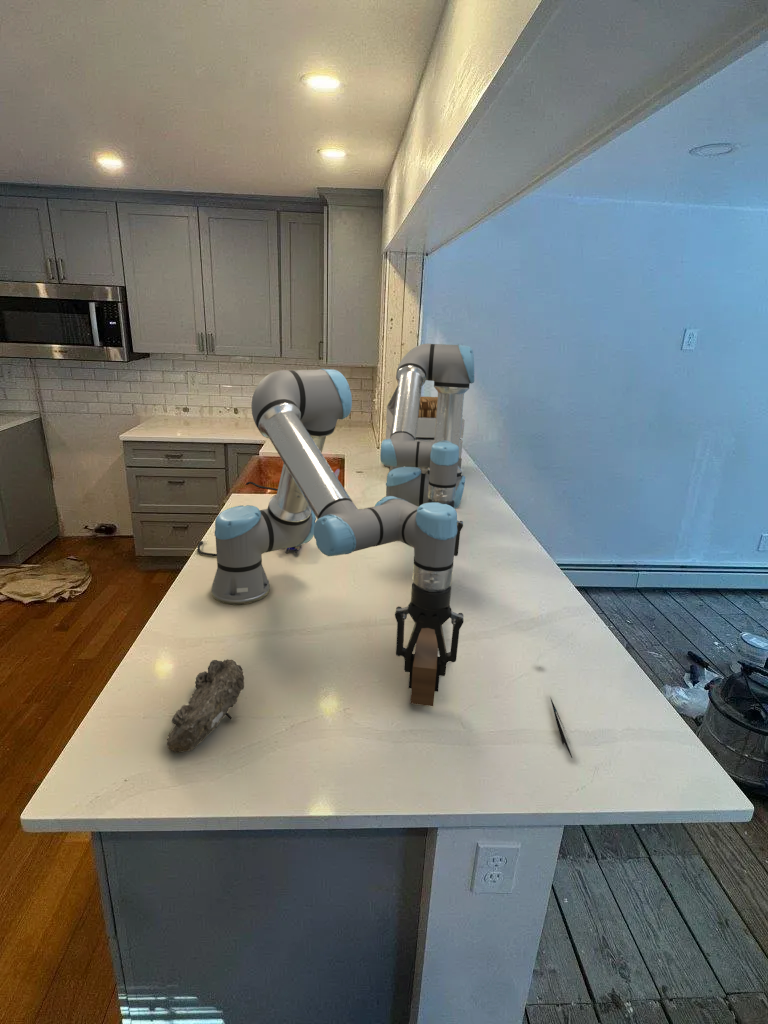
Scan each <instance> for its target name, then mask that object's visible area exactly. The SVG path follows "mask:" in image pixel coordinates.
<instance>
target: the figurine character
mask: <svg viewBox="0 0 768 1024" xmlns="http://www.w3.org/2000/svg"><path fill="white" fill-rule="evenodd" d="M301 548H302V544H301V545H299V546H295V547H290V548H285V549H284V550H285V554H288V553H289V550H291V551H294V554H297V553H298V550H300V549H301Z"/></svg>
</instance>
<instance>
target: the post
mask: <svg viewBox="0 0 768 1024" xmlns="http://www.w3.org/2000/svg"><path fill="white" fill-rule="evenodd" d="M414 654H415V655H414V662H413V672H412V686H411V690H410V701H409V704H411V705H418V706H427V707H434V705H435V704H434V703H435V693H436V692H435V683H436V671H437V657H438V655H439V650H438V644H437V639H436V635H435V630H434V629H430V628H422V629H421V631H420V633H419V636H418V639H417V642H416V645H415V647H414Z"/></svg>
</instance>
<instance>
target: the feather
mask: <svg viewBox="0 0 768 1024" xmlns="http://www.w3.org/2000/svg"><path fill="white" fill-rule="evenodd" d="M539 669H541V666H540V667H539ZM549 697H550V702H551V706H552V710H553V714H554V718H555V722H556V726H557V729H558V732H559V737H560V740H561V744H562V745H564V746H565V748H566V750H567V751H568V753H569V755H570V757H571V758H573V756H572V753H571V750H570V748H569V745H570V747H572V744H571V740H569V741H568V742H567V740H566V739H567V738H569V735H567V732H566V727H564V723H563V721H562V720H561V717H560V715H559V713H558V710H557V708H556V706H555V704H554V702H553V699H552V697H551V696H549ZM566 735H567V738H566ZM568 743H569V744H568Z"/></svg>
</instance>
